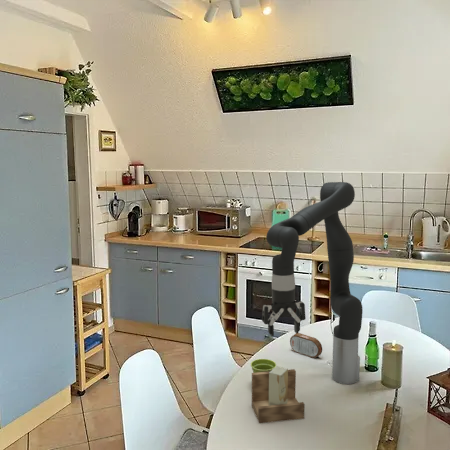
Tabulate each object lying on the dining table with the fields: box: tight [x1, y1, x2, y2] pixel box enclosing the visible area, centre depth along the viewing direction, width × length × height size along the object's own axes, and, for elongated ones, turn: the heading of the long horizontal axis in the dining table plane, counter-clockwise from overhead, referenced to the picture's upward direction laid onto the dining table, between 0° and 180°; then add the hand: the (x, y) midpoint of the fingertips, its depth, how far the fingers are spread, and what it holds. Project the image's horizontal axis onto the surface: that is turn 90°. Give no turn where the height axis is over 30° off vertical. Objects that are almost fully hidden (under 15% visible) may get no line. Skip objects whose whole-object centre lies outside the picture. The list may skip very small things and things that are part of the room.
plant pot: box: [250, 358, 277, 373], centre depth 171 cm, size 9×9×9 cm
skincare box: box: [269, 365, 289, 406], centre depth 153 cm, size 6×4×12 cm
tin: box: [289, 332, 323, 359], centre depth 199 cm, size 15×3×8 cm, turn 47°
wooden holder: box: [251, 368, 305, 424], centre depth 153 cm, size 15×10×12 cm
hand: (284, 333), depth 154 cm, fingers open, 8 cm apart
